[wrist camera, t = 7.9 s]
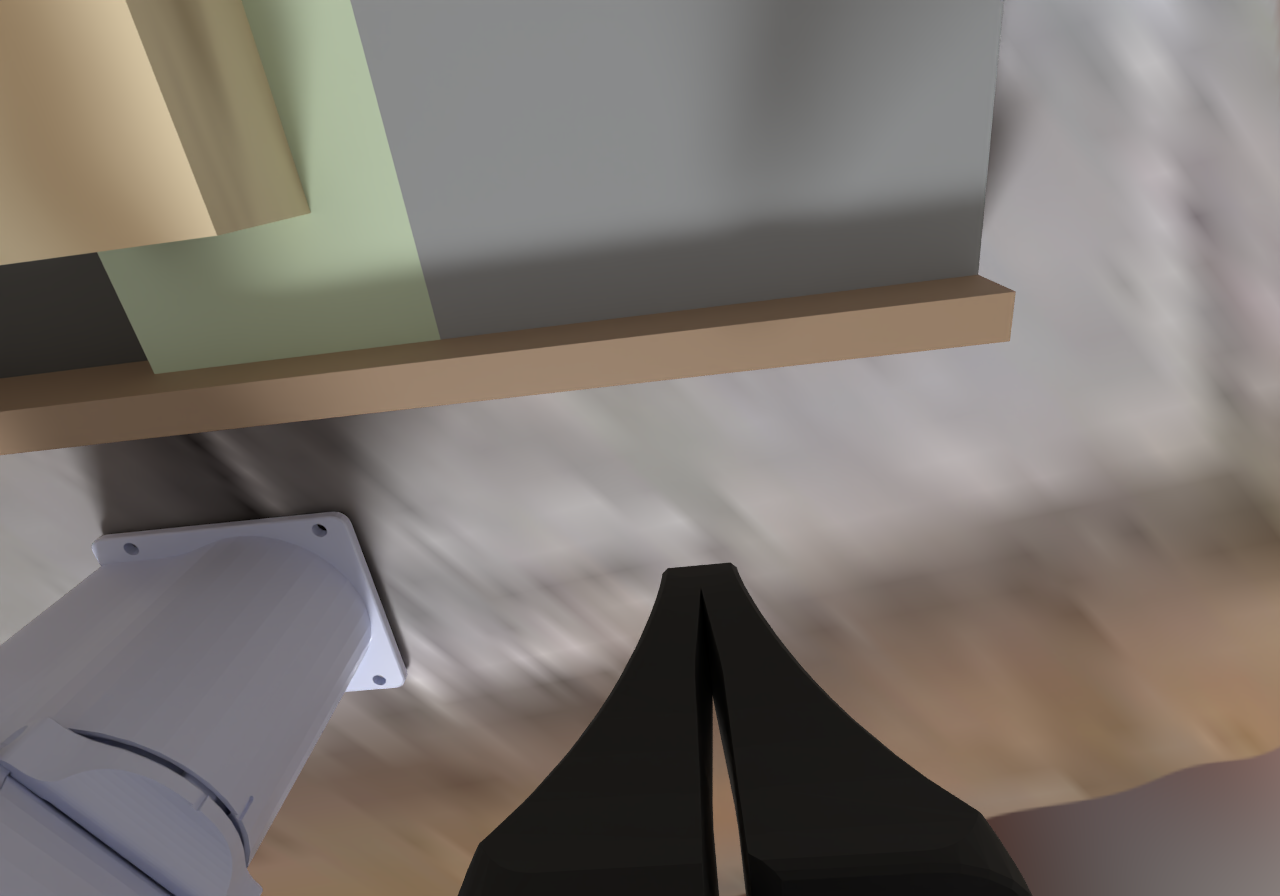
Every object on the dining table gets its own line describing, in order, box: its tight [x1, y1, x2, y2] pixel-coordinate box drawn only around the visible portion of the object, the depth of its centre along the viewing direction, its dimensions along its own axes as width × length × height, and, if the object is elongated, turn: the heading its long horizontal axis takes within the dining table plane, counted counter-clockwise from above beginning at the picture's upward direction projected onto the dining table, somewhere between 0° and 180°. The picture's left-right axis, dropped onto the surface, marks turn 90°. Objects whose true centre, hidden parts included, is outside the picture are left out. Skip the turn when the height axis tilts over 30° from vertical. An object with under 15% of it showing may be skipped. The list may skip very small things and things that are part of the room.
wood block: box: [0, 0, 311, 265], centre depth 14 cm, size 5×5×4 cm
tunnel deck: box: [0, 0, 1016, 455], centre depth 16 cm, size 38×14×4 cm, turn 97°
